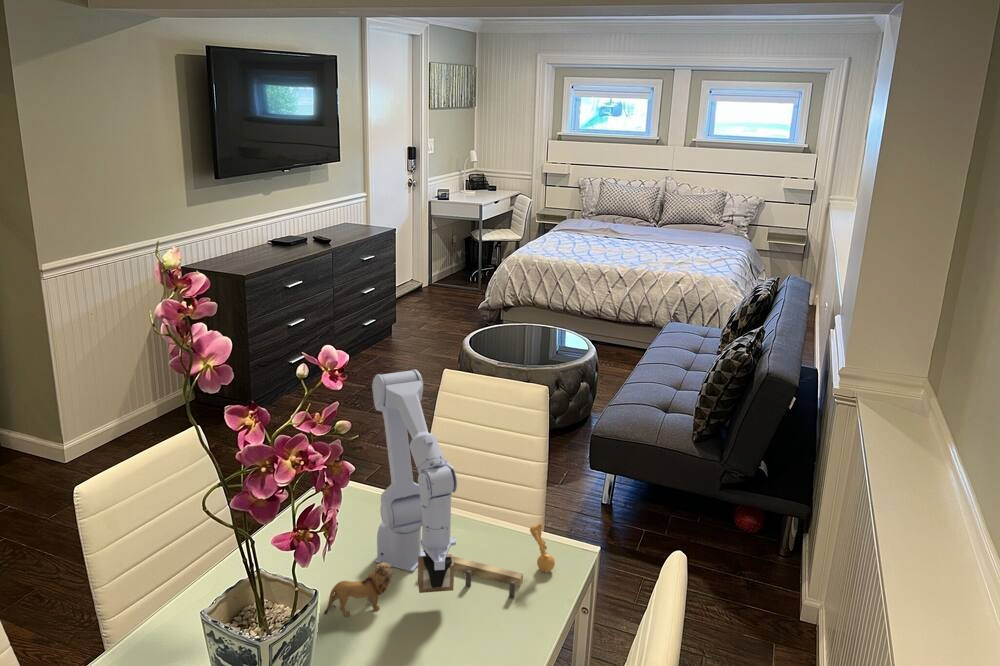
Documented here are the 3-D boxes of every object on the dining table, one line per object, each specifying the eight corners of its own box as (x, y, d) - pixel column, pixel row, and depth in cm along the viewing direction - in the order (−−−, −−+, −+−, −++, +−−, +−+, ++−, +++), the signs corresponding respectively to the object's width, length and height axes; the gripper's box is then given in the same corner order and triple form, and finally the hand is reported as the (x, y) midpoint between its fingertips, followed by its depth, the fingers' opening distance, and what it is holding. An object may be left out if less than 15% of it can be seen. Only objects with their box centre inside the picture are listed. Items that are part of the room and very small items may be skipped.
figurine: (557, 581, 172) (560, 533, 168) (530, 582, 171) (533, 534, 168) (550, 559, 180) (554, 513, 176) (525, 560, 179) (527, 514, 176)
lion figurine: (388, 591, 166) (387, 555, 164) (396, 606, 162) (396, 569, 159) (319, 610, 160) (318, 572, 157) (326, 625, 155) (325, 587, 153)
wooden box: (419, 593, 159) (419, 567, 157) (417, 581, 163) (418, 556, 161) (453, 590, 160) (454, 565, 159) (451, 578, 164) (451, 554, 162)
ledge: (422, 575, 172) (422, 561, 171) (435, 559, 178) (435, 546, 177) (513, 598, 166) (514, 584, 164) (523, 581, 171) (523, 567, 170)
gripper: (460, 540, 151) (459, 600, 155) (452, 502, 165) (450, 557, 169) (424, 543, 150) (423, 602, 154) (418, 504, 163) (417, 560, 167)
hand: (435, 579), depth 161 cm, fingers closed on wooden box, 4 cm apart
